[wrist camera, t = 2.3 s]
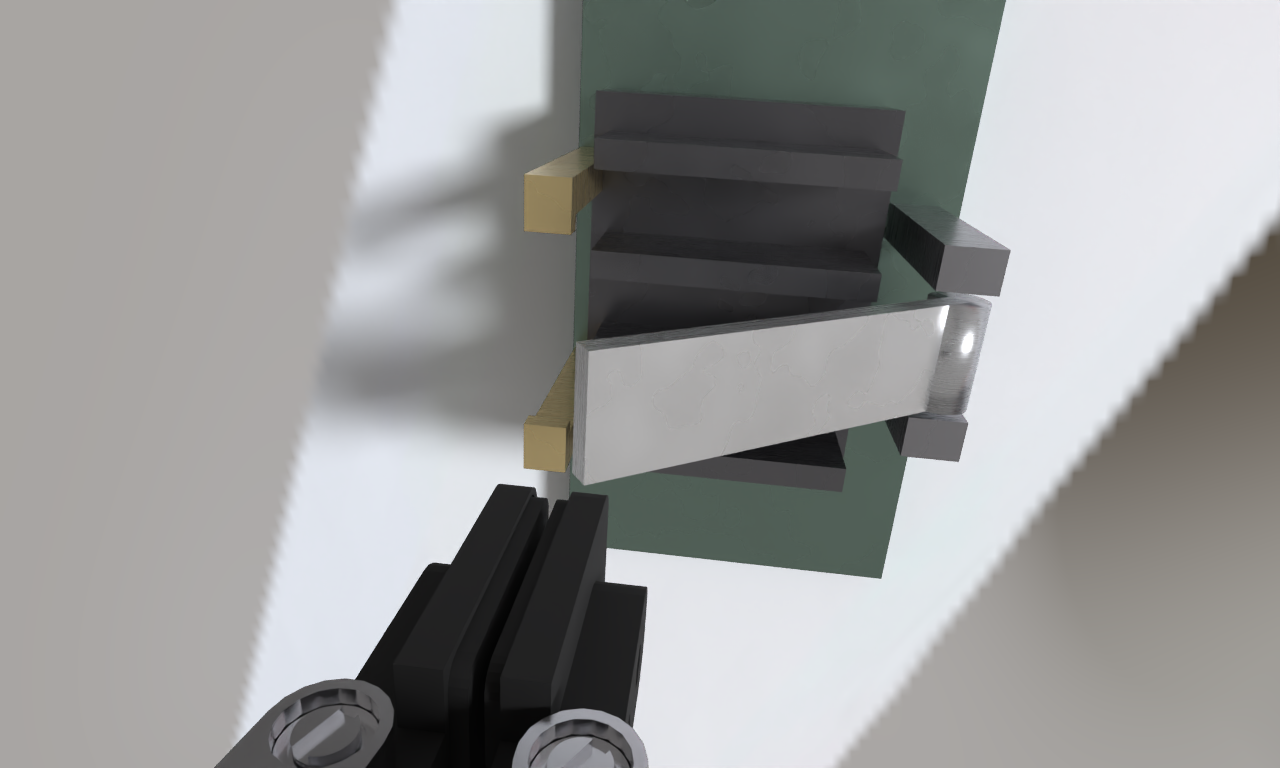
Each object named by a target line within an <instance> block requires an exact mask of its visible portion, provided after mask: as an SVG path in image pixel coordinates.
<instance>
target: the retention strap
mask: <svg viewBox="0 0 1280 768" xmlns="http://www.w3.org/2000/svg"><path fill="white" fill-rule="evenodd" d="M991 306H992V304H991V303H990V302H989V301H987V300H985V299H983V298H980V297H977V296H973V295H969V294H963V293H952V292H932V293H929V294H928V297H927V300H919V301H911V302H903V303H894V304H886V305H878V306H869V307H861V308H853V309H844V310H836V311H828V312H819V313H811V314H803V315H794V316H786V317H778V318H769V319H761V320H753V321H744V322H736V323H727V324H719V325H711V326H702V327H694V328H686V329H677V330H669V331H661V332H652V333H644V334H636V335H627V336H619V337H611V338H602V339H594V340H586V341H577V342H576V359H575V394H574V428H573V463H572V473H573V474H574V475H575V476H576V477H577V478H578V480H579V481H580V482H581V483H582V484H583V485H589V484H594V483H598V482H603V481H607V480H612V479H617V478H621V477H626V476H630V475H635V474H640V473H644V472H649V471H653V470H658V469H663V468H667V467H672V466H676V465H681V464H686V463H690V462H695V461H700V460H704V459H709V458H713V457H718V456H723V455H727V454H732V453H736V452H741V451H746V450H750V449H755V448H759V447H764V446H769V445H773V444H778V443H782V442H787V441H792V440H796V439H801V438H805V437H810V436H815V435H819V434H824V433H829V432H833V431H838V430H842V429H847V428H852V427H856V426H861V425H865V424H870V423H875V422H879V421H884V420H888V419H893V418H898V417H902V416H907V415H911V414H916V413H921V412H925V411H927V412H930V413H935V414H941V415H958V414H962V413H964V412H965V411H966V410H967V405H968V401H969V397H970V393H971V389H972V385H973V381H974V377H975V372H976V368H977V364H978V360H979V356H980V352H981V348H982V343H983V339H984V335H985V331H986V327H987V323H988V319H989V315H990V310H991Z"/></svg>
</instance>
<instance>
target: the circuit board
mask: <svg viewBox="0 0 1280 768" xmlns="http://www.w3.org/2000/svg"><path fill="white" fill-rule="evenodd" d="M1005 2H1006V0H583V18H582V54H581V91H580V127H579V148H578V149H576V150H574V151H571V152H569V153H567V154H565V155H563V156H561V157H559V158H557V159H555V160H553V161H551V162H548V163H546V164H544V165H542V166H540V167H538V168H536V169H534V170H532V171H530V172H528V173H526V174H524V231H529V232H542V233H554V234H567V235H571V234H572V233H573V232H574V231H575V222H576V214H577V237H576V273H575V310H574V346H573V351H572V353H571V355H570V357H569V358H568V360H567V362H566V364H565V365H564V367H563V369H562V371H561V372H560V374H559V376H558V378H557V379H556V381H555V383H554V385H553V386H552V388H551V390H550V392H549V394H548V395H547V397H546V399H545V401H544V402H543V404H542V406H541V408H540V409H539V411H538V413H537V415H536V416H530V415H529V416H528V418H527V420H526V421H525V423H524V468H526V469H535V470H545V471H554V472H564V473H565V471H566V469H567V467H568V464H569V462H570V492H569V497H570V495H571V493H572V492H582V493H591V494H601V495H608V498H609V509H608V528H607V547H606V548H613V549H622V550H631V551H640V552H649V553H657V554H666V555H675V556H684V557H693V558H702V559H711V560H720V561H728V562H737V563H746V564H755V565H764V566H773V567H782V568H791V569H800V570H808V571H817V572H826V573H835V574H844V575H853V576H862V577H871V578H880V579H881V577H882V573H883V568H884V563H885V559H886V554H887V549H888V545H889V540H890V536H891V531H892V526H893V522H894V517H895V512H896V508H897V503H898V498H899V494H900V489H901V484H902V480H903V475H904V471H905V466H906V461H907V457H916V458H926V459H936V460H946V461H956V462H959V459H960V455H961V451H962V447H963V443H964V438H965V434H966V430H967V426H968V422H967V421H966V419H965V418H964V416H963V415H962V414H958V415H941V414H935V413H930V412H927V411H925V412H921V413H916V414H911V415H907V416H902V417H898V418H893V419H888V420H884V421H879V422H875V423H870V424H865V425H861V426H856V427H852V428H847V429H842V430H838V431H833V432H829V433H824V434H819V435H815V436H810V437H805V438H801V439H796V440H792V441H787V442H782V443H778V444H773V445H769V446H764V447H759V448H755V449H750V450H746V451H741V452H736V453H732V454H727V455H723V456H718V457H713V458H709V459H704V460H700V461H695V462H690V463H686V464H681V465H676V466H672V467H667V468H663V469H658V470H653V471H649V472H644V473H640V474H635V475H630V476H626V477H621V478H617V479H612V480H607V481H603V482H598V483H594V484H589V485H583V484H582V483H581V482H580V481H579V480H578V478H577V477H576V476H575V475H574V474H573V473H572V463H573V428H574V394H575V359H576V342H577V341H586V340H594V339H602V338H611V337H619V336H627V335H636V334H644V333H652V332H661V331H669V330H677V329H686V328H694V327H702V326H711V325H719V324H727V323H736V322H744V321H753V320H761V319H769V318H778V317H786V316H794V315H803V314H811V313H819V312H828V311H836V310H844V309H853V308H861V307H869V306H878V305H886V304H894V303H903V302H911V301H919V300H927V297H928V294H929V293H932V292H952V293H964V294H976V295H988V296H1000V291H1001V287H1002V283H1003V279H1004V275H1005V271H1006V267H1007V263H1008V259H1009V255H1010V251H1011V250H1009V249H1008V248H1006V247H1005V246H1003V245H1001V244H1000V243H998V242H996V241H995V240H993V239H992V238H990V237H988V236H987V235H985V234H983V233H982V232H980V231H979V230H977V229H975V228H974V227H972V226H971V225H969V224H967V223H966V222H964V221H962V220H961V219H959V215H960V211H961V206H962V201H963V197H964V192H965V187H966V183H967V178H968V174H969V169H970V164H971V160H972V155H973V150H974V146H975V141H976V136H977V132H978V127H979V122H980V118H981V113H982V109H983V104H984V99H985V95H986V90H987V85H988V81H989V76H990V71H991V67H992V62H993V57H994V53H995V48H996V44H997V39H998V34H999V30H1000V25H1001V20H1002V16H1003V11H1004V6H1005Z"/></svg>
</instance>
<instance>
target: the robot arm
mask: <svg viewBox="0 0 1280 768" xmlns="http://www.w3.org/2000/svg"><path fill="white" fill-rule="evenodd" d="M608 509H609V498H608V495H601V494H591V493H582V492H572V493H571V495H570V497H569V500H557V501H556V503H555V505H554V508H553V510H552V512H551V515H550V517H549V520H548V499H547V498H539V497H537V493H536V489H535V488H534V487H525V486H515V485H506V484H498V485H497V486H496V488H495V490H494V491H493V493H492V495H491V496H490V498H489V500H488V502H487V503H486V505H485V507H484V508H483V510H482V512H481V514H480V515H479V517H478V519H477V520H476V522H475V524H474V526H473V527H472V529H471V531H470V532H469V534H468V536H467V538H466V539H465V541H464V543H463V544H462V546H461V548H460V550H459V551H458V553H457V555H456V556H455V558H454V560H453V562H452V563H451V565H450V564H441V563H432V564H429V565H428V566H427V568H426V569H425V570H424V571H423V573H422V575H421V576H420V578H419V579H418V581H417V582H416V584H415V586H414V587H413V589H412V590H411V592H410V594H409V595H408V597H407V598H406V600H405V601H404V603H403V605H402V606H401V608H400V609H399V611H398V613H397V614H396V616H395V617H394V619H393V620H392V622H391V624H390V625H389V627H388V628H387V630H386V632H385V633H384V635H383V636H382V638H381V639H380V641H379V643H378V644H377V646H376V647H375V649H374V650H373V652H372V654H371V655H370V657H369V658H368V660H367V662H366V663H365V665H364V666H363V668H362V669H361V671H360V673H359V674H358V676H357V677H356V679H355V680H353V679H336V680H326V681H322V682H319V683H315V684H312V685H309V686H306V687H303V688H301V689H299V690H297V691H296V692H294V693H292V694H290V695H288V696H286V697H284V698H283V699H282V700H281V701H280V702H278V703H277V704H276V705H275V706H274V707H272V708H271V709H270V710H269V711H268V712H267V713H266V714H265V715H264V716H263V717H262V718H261V719H260V720H259V721H258V722H257V723H256V724H255V725H254V726H253V727H252V729H251V730H250V731H249V732H248V733H247V734H246V735H245V736H244V737H243V738H242V739H241V740H240V741H239V742H238V743H237V744H236V745H235V746H234V747H233V748H232V749H231V750H230V752H229V753H228V754H227V755H226V756H225V757H224V758H223V759H222V760H221V761H220V762H219V763H218V764H217V765H216V766H215V767H214V768H649V767H648V758H647V754H646V750H645V746H644V743H643V742H642V740H641V739H640V737H639V736H638V734H637V733H636V732H635V730H634V729H633V722H634V715H635V708H636V701H637V694H638V687H639V680H640V671H641V663H642V653H643V643H644V632H645V619H646V606H647V587H643V586H634V585H626V584H617V583H608V582H605V567H606V547H607V528H608Z"/></svg>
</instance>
